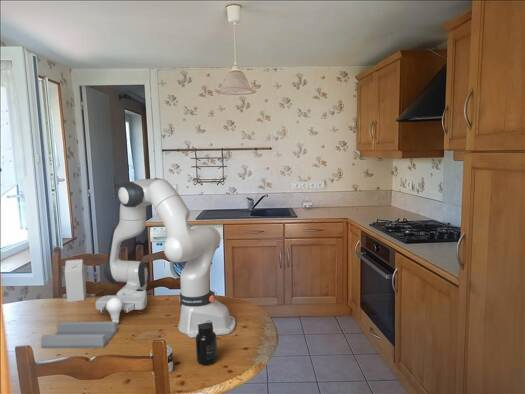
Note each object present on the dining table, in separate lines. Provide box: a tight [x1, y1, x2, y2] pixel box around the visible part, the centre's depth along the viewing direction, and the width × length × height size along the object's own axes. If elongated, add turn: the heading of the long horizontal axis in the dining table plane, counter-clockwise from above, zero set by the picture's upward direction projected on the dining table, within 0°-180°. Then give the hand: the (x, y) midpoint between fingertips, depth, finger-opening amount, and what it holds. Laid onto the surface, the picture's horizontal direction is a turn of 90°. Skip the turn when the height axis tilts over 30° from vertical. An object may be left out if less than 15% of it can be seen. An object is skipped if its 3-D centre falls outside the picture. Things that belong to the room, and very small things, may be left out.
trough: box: [40, 321, 118, 349], centre depth 137 cm, size 22×12×4 cm, turn 89°
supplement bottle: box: [195, 323, 218, 366], centre depth 122 cm, size 7×7×12 cm
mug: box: [149, 343, 174, 376], centre depth 118 cm, size 10×7×7 cm, turn 171°
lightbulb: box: [106, 298, 123, 324], centre depth 148 cm, size 6×6×11 cm
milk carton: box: [64, 258, 87, 303], centre depth 174 cm, size 7×7×19 cm
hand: (114, 310), depth 147 cm, fingers open, 8 cm apart
